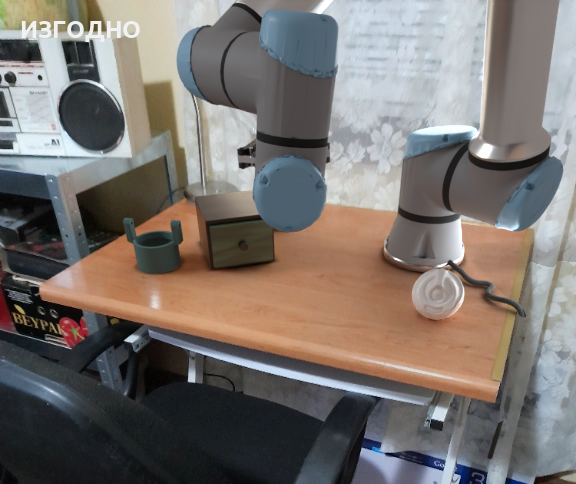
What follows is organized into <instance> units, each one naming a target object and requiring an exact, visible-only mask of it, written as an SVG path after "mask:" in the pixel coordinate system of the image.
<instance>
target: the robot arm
mask: <svg viewBox="0 0 576 484" xmlns="http://www.w3.org/2000/svg"><path fill="white" fill-rule="evenodd" d="M560 1H561V0H486V11H485V13H486V14H485V28H484V29H485V31H484V47H483V48H484V49H483V65H482V81H481V83H482V84H481V99H480V101H481V102H480V118H479V131H478V130H477V128H476V127H474V126H471V125H458V124H457V125H456V124H454V125H453V124H452V125H439V126H430V127H424V128H421V129H417V130H415V131H413V132H411V133H410V134H409V135H408V137H407V138H406V141H405V147H404V153H403V156H402V165H401V176H400V183H399V185H400V186H399V195H398V205H397V213H396V217H395V219H394V221H393V222H392V226H391V229H390V231H389V234H388V236H385V237H384V240H383V256H384V258H385V259H386V260H387V261H388V262H389V263H391V265H394V266H396V267H397V268H398V267H399V268H400V269H404V270H407V271H413V272H419V273H425V272H427V271H429V270H432V269H441V268H443V269H445V270H449V271H451V270H454V271H455V272H456V273H458V274H459V276H460V277H461V278H462V279H463V280H464V281H465V282H467V283H468V284H469V285H473V286H476V287H477V286H478V287H487V288H486V290H485V291H484V295H485V297H486V298H487V299H489V300H490V301H492V302H496V303H500V304H501V303H502V304H506V305H509V306H511V307H512V308H514V310H516V312H517V314H518V316H519V317H521V318H526V317H527V315H526V312H525V310H524V308H523V306H522V305H521V304H520V303H519V302H517V301H516V300H514V299H511V298H509V297H504V296H500V295H499V296H498V295H497V294H493V292H494V290H495V284H494V283H493V282H491V281H489V280H480V279H475V278H472V277H470V275H468V274H467V273H466V271H465V270H464V269H463V268H461V266H460V265H461V263H463V260H464V256H465V244H464V242H463V230H462V221H461V220H462V216H463V217H467V218H470V219H472V220H476V221H478V222H481V223H484V224H488V225H490V226H494V228H496V229H503V230H506V231H511V232H516V233H517V232H522V231H525V230H527V229H529V228H530V227H532V226H533V225H534V224H535V223H536V222H537V221H538V220H539V219H540V218H541V217H542V216H543V215H544V213H545V212H546V211H547V209H548V207H549V206H550V204H551V203H552V201H553V200H554V198H555V196H556V193H557V191H558V190H559V187H560V185H561V182H562V178H563V174H564V164H563V162H562V160H561V159H559V158H558V157H556V156H555V155H552V156H550V151H551V144H552V136H551V134H550V133H549V131H548V130H547V129H545V127H543V121H544V115H545V109H546V107H545V106H546V101H547V93H548V87H549V86H548V85H549V79H550V71H551V64H552V58H553V50H554V43H555V36H556V30H557V29H556V28H557V20H558V14H559V13H558V12H559V6H560ZM332 2H333V0H235V1H234V2H233V3H232V4H231V6H229V8H228V9H227V10H226V11H224V13H223V14H222V15H221V16H220V17H219V18H218V19H217V20H216V22H215V23H214V24H213V25H211V24H206V25H205V24H204V25H201V26H197V27H195V28H192V29H190V30H188V31H187V32H186V33H185V34H184V35H183V36H182V38H181V40H180V41H179V44H178V47H177V50H176V51H177V52H176V69H177V73H178V76H179V77H178V78H179V79H180V81H181V83H182V84H183V87H184V88H185V89H186V90H187V91H188V92H189V93H190V94H191V95H192V96H194V97H196V98H197V99H200V100H202V101H204V102H206V103H209V104H210V105H214V106H221V107H222V106H224V107H226V108H231V109H235V110H239V111H242V112H245V113H249V114H253V115H256V127H255V129H256V131H255V132H256V133H255V138H254V139H253V140H251V141H250V142H249V143H247V144H246V145H244V146H240V147H238V148H236V151H237V154H236V155H237V163H238V169H241V170H246V169H248V168H254V179H253V183H252V186H253V187H252V190H253V200H254V201H255V205H256V208H257V211H258V213H259V215H260V216H261V218H262V219H263V220H264V221H265V222H266V223H267V224H268V225H269V226H271V227H273V228H274V230H276V229H277V230H276V231H278V230H279V231H278V232H283V233H297V232H301V231H303V230H306V229H307V228H309V227H311V226H312V225H313V224H314V223H316V222H317V220H318V219H320V217H321V216H322V213H323V212H324V209H325V206H326V202H327V191H328V185H327V184H326V178H325V176H326V175H325V174H326V166H327V164H329V163H331V142H330V141H329V135H330V134H329V133H330V125H331V118H332V111H333V102H334V96H335V88H336V79H337V74H338V72H339V71H338V69H339V64H338V53H339V39H340V27H339V23H338V22H337V20H336V19H335V18H334V16H332V15H330V14H324V13H323V12H324V11H325V9H327V7H328V6H329V5H330V4H331V3H332ZM505 421H506V419H503V420H501V421H499V422H497V425H496V427H495V431H494V433H493V436H492V440H491V443H490V446H489V449H488V452H487V453H488V454H487V460H492V459H493V457H494V454H495V451H496V448H497V444H498V441H499V438H500V435H501V433H502V429H503V426H504V424H505Z"/></svg>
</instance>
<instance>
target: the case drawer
mask: <svg viewBox="0 0 576 484" xmlns="http://www.w3.org/2000/svg"><path fill="white" fill-rule="evenodd" d="M209 228H210V237H211V246H212V255H213V264H214V267H215V268H218V267H225V266H232V265H240V264H247V263H254V262H261V261H268V260H273V240H272V227H271V226H269V225H268V224H267V223H266V222H265V221H264V220H263V219H262V218H261V219H253V220H245V221H237V222H229V223H221V224H212V225H210V226H209Z"/></svg>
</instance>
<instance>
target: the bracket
mask: <svg viewBox="0 0 576 484" xmlns="http://www.w3.org/2000/svg"><path fill="white" fill-rule="evenodd" d="M122 224H123V227H124V232H125V233H124V234H125V237H126V241H127V242H128V243H130V244H131V245H133V251H134V253H135V260H136V264H137V268H138V270H139V271H140V272H142V273H145V274H151V275H153V274H154V275H158V274H165V273H170V272H172V271H174V270H176V269H178V268H179V266H180V265H181V264H182V259H181V252H180V247H179V246H180V245H181V244H182V243H183V241H184V235H183V229H182V222H181V220H179V219H171V220H170V223H169V224H170V231H169V230H153V231H152V230H151V231H146V232H143V233H140V234H137V231H136V227H135V223H134V218H133V217H124V218H123V220H122Z"/></svg>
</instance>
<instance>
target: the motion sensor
mask: <svg viewBox="0 0 576 484" xmlns="http://www.w3.org/2000/svg"><path fill="white" fill-rule="evenodd" d="M464 287H465V286H464V285H463V282H462V280H461V279H460V277H459V276H458V275H457V274H456V273H455V272H453V271H451V270H445V269H443V268H441V269H432V270H429V271H427V272H423V273H422V274H421V275H420V276H419V277H418V278H417V280H416V281H415V283H414V284H413V286H412V289H411V300H412V303H413V306H414V308H415V309H416V311H417V312H418V313H419V314H420V315H421V316H423V317H425V318H427V319H430V320H435V321H438V320H444V319H447V318H449V317H452V316H453V315H454V314H455V313H456V312H457V311H458V310H459V309H460V308H461V306H462V305H463V302H464V299H465V288H464Z"/></svg>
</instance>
